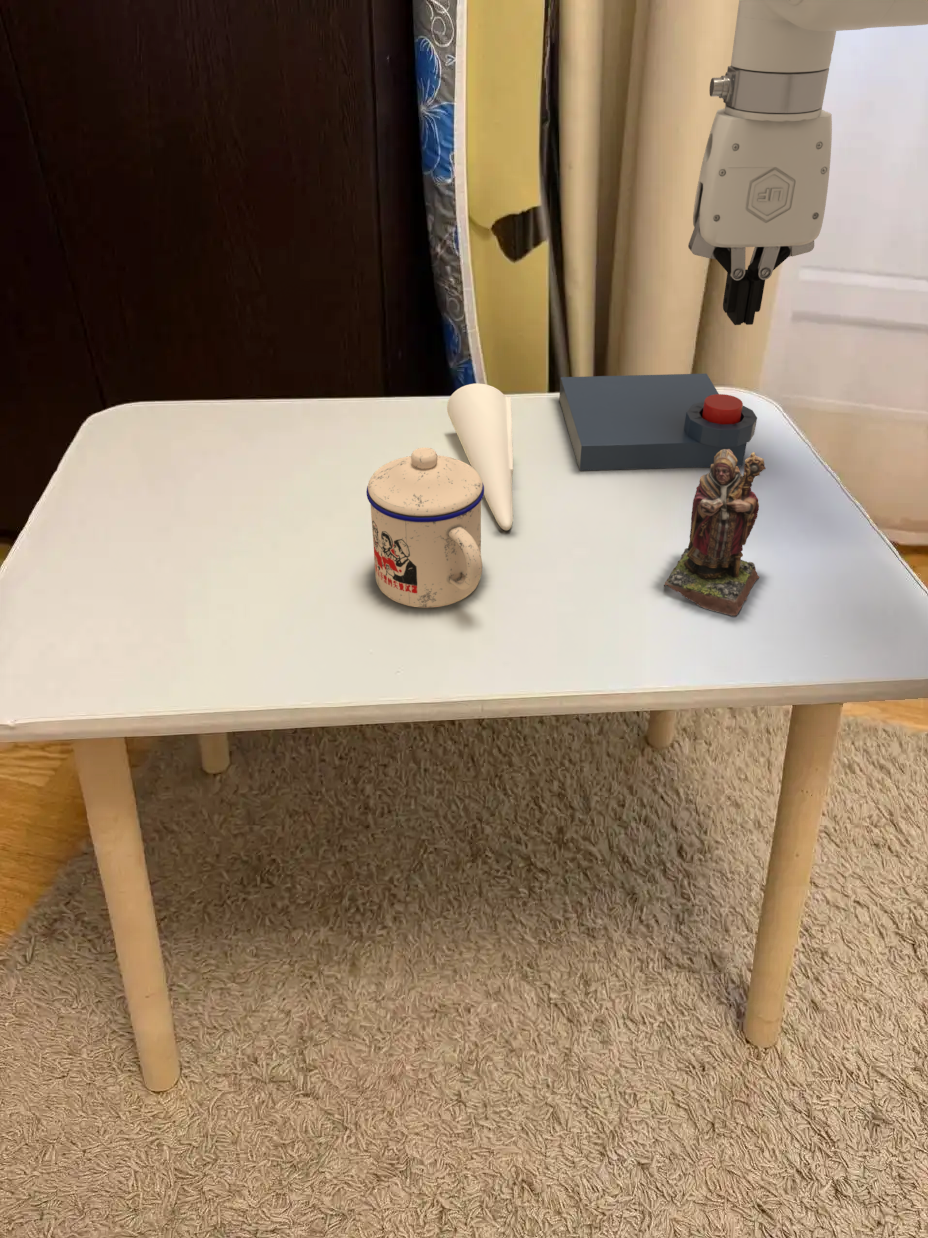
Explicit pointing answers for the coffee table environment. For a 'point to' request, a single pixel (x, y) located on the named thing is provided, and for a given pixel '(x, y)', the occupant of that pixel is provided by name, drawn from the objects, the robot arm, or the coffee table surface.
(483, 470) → the long cone
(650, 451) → the button box
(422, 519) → the teacup with lid
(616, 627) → the coffee table surface
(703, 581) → the figurine
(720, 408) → the button
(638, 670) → the coffee table surface
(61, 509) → the coffee table surface
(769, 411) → the coffee table surface
